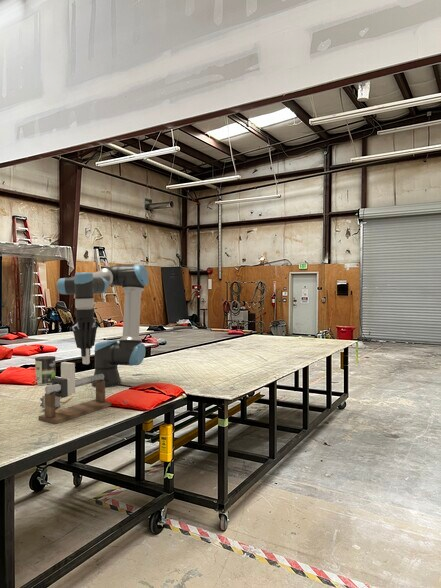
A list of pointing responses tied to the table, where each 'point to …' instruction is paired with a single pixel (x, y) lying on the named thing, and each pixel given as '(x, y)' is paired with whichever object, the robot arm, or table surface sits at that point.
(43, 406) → the electrical component
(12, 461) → the table surface
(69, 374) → the white u-shaped bracket
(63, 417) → the pipe stand
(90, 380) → the steel pipe
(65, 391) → the dark gray nut plate
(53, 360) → the coffee can
